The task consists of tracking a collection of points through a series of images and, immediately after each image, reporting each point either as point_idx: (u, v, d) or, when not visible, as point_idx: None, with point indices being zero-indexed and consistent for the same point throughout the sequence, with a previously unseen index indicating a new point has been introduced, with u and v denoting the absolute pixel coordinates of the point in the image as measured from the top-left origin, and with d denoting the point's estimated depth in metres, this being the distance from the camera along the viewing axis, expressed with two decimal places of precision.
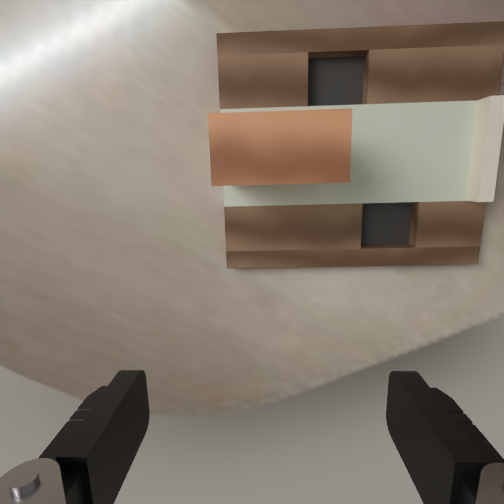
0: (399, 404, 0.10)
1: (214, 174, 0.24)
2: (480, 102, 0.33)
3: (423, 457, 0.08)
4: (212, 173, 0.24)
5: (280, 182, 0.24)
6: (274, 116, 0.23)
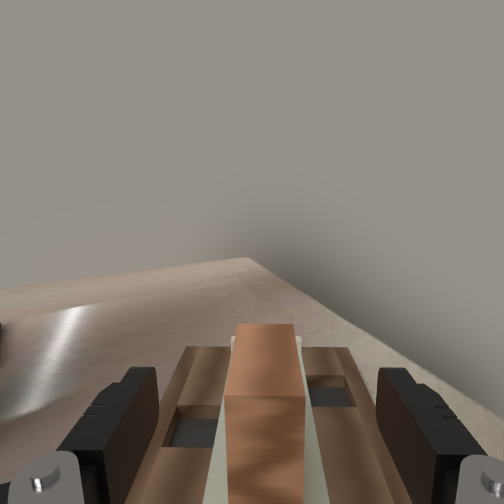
0: (387, 400, 0.10)
1: (291, 393, 0.21)
2: None
3: (409, 451, 0.09)
4: (290, 395, 0.21)
5: (296, 353, 0.25)
6: (236, 355, 0.25)
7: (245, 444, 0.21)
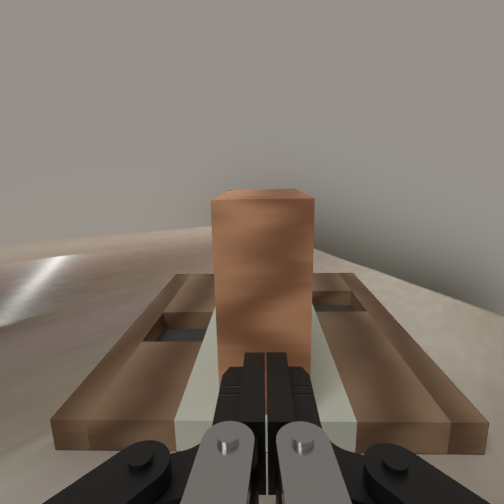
0: None
1: (296, 197, 0.16)
2: None
3: (267, 423, 0.10)
4: (295, 198, 0.16)
5: (300, 192, 0.21)
6: (227, 194, 0.21)
7: (238, 270, 0.17)
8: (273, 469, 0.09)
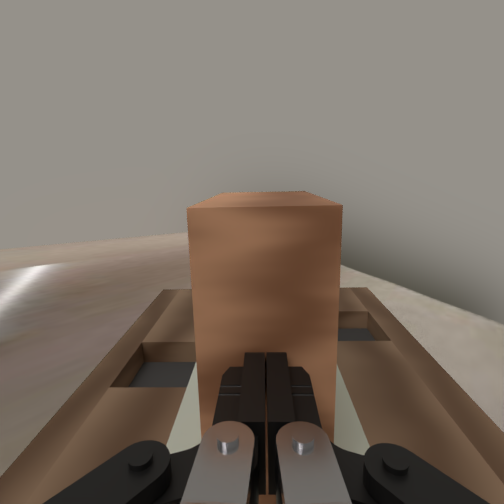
0: None
1: (315, 204, 0.11)
2: None
3: (267, 424, 0.10)
4: (313, 205, 0.11)
5: (314, 196, 0.16)
6: (216, 198, 0.15)
7: (229, 311, 0.12)
8: (273, 469, 0.09)
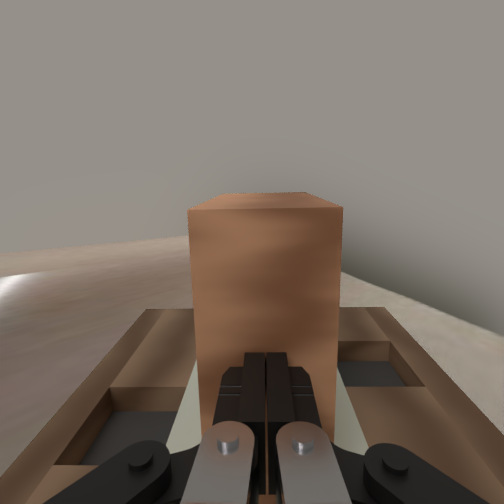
0: None
1: (315, 206, 0.11)
2: None
3: (267, 424, 0.10)
4: (314, 207, 0.11)
5: (315, 197, 0.16)
6: (217, 199, 0.15)
7: (230, 313, 0.12)
8: (273, 469, 0.09)
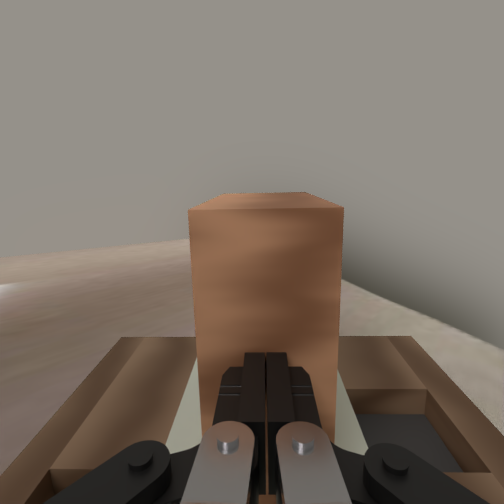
0: None
1: (316, 206, 0.11)
2: None
3: (267, 423, 0.10)
4: (314, 207, 0.11)
5: (315, 197, 0.16)
6: (217, 199, 0.15)
7: (230, 313, 0.12)
8: (273, 469, 0.09)
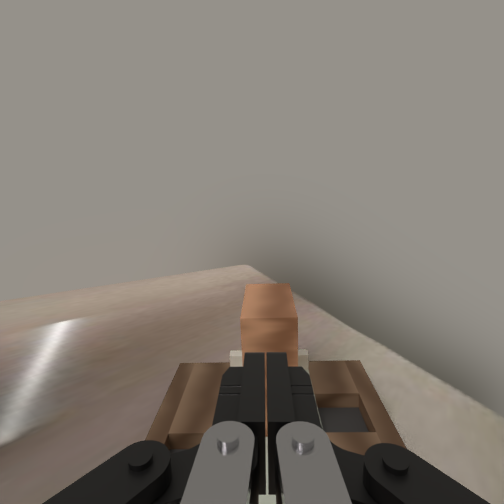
0: None
1: (287, 316, 0.30)
2: None
3: (267, 424, 0.10)
4: (287, 317, 0.29)
5: (291, 298, 0.34)
6: (247, 300, 0.34)
7: None
8: (273, 469, 0.09)
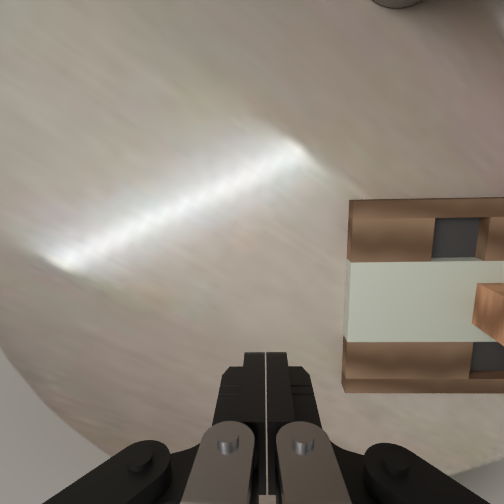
0: None
1: None
2: None
3: (267, 423, 0.10)
4: None
5: None
6: None
7: None
8: (273, 469, 0.09)
